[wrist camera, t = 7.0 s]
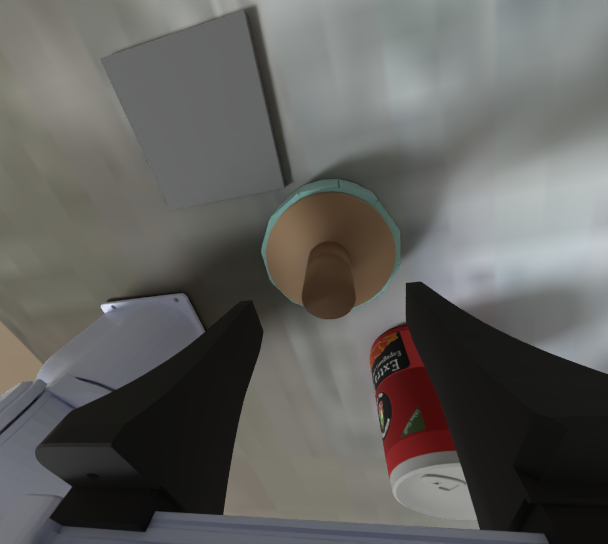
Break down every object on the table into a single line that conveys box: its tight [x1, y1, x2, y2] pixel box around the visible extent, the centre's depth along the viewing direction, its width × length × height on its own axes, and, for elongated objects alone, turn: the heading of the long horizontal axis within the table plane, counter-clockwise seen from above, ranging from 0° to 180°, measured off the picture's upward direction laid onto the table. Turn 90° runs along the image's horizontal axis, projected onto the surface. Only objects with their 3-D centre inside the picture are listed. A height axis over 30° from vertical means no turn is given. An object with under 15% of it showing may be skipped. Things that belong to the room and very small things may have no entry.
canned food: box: [370, 326, 477, 520], centre depth 19 cm, size 8×8×11 cm
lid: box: [266, 191, 396, 319], centre depth 14 cm, size 8×8×5 cm
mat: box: [100, 10, 286, 210], centre depth 16 cm, size 9×9×1 cm
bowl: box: [261, 179, 401, 310], centre depth 17 cm, size 9×9×3 cm
